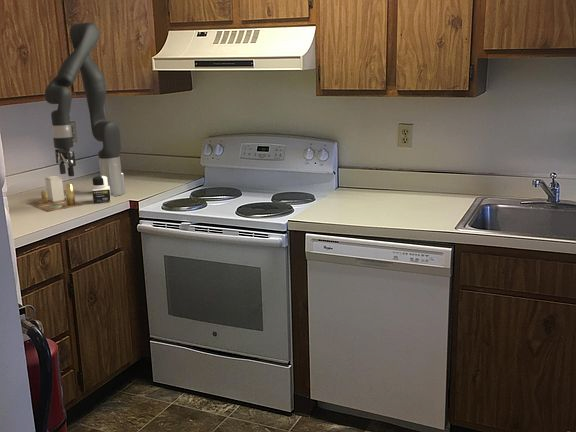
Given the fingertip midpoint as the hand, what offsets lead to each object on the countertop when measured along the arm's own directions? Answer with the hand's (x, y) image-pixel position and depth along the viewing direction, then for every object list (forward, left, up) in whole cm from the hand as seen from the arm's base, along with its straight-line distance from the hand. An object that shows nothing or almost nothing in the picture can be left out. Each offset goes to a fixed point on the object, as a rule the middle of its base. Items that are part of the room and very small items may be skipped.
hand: (67, 175), depth 266 cm
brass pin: (0, 0, -13) cm, 13 cm away
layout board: (+4, -8, -14) cm, 17 cm away
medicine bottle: (-12, +4, -14) cm, 19 cm away
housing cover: (0, -16, -13) cm, 20 cm away
